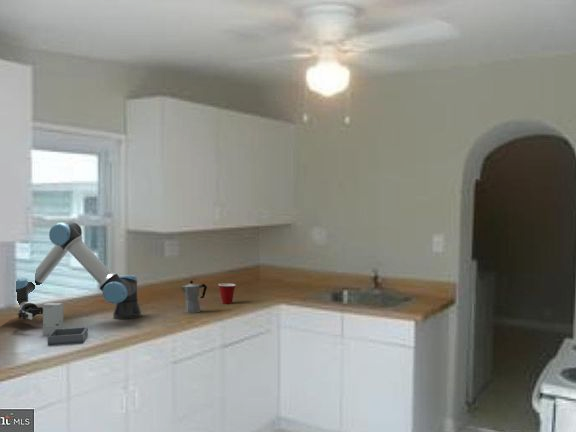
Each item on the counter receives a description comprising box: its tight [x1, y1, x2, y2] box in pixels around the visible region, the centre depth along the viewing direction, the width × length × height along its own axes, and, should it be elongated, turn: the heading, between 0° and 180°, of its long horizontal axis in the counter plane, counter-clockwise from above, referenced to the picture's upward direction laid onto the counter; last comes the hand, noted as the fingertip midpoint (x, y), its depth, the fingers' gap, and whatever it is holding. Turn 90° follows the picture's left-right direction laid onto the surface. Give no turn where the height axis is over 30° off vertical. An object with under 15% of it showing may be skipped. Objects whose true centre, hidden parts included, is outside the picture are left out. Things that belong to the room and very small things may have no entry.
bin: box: [47, 326, 89, 346], centre depth 270 cm, size 15×15×4 cm
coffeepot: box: [179, 280, 208, 314], centre depth 332 cm, size 15×9×18 cm, turn 110°
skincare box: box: [42, 302, 64, 336], centre depth 286 cm, size 8×6×15 cm
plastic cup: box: [218, 283, 237, 305], centre depth 356 cm, size 11×11×12 cm
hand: (45, 314), depth 291 cm, fingers open, 13 cm apart
